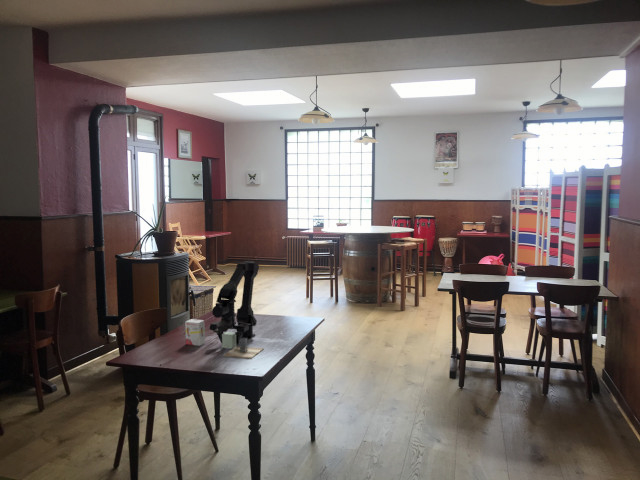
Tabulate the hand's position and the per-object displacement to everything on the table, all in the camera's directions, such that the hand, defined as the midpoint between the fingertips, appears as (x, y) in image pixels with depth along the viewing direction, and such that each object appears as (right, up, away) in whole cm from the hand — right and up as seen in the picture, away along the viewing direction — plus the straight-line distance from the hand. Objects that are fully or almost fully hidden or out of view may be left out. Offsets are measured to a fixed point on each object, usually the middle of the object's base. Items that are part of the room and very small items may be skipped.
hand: (229, 344), depth 253 cm
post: (+8, -2, -10) cm, 13 cm away
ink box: (-18, -1, +6) cm, 19 cm away
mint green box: (0, -1, 0) cm, 1 cm away
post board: (+8, -2, -10) cm, 13 cm away
